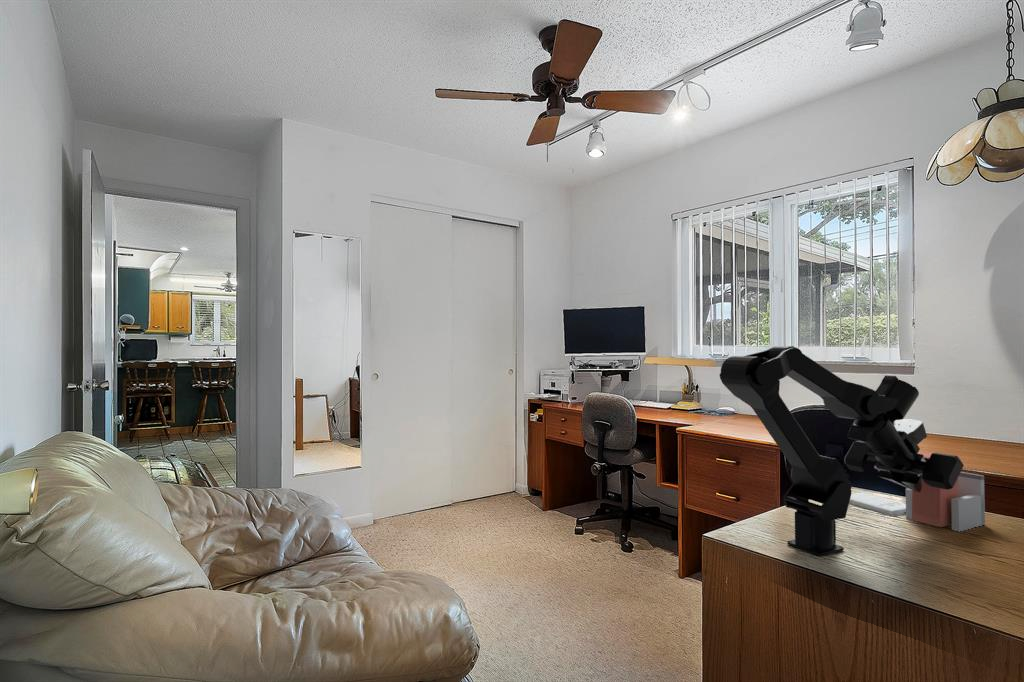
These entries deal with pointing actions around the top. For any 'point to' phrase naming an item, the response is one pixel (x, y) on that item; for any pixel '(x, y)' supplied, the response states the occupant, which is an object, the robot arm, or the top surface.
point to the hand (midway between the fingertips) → (918, 490)
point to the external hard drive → (878, 504)
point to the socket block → (962, 502)
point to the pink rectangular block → (933, 503)
